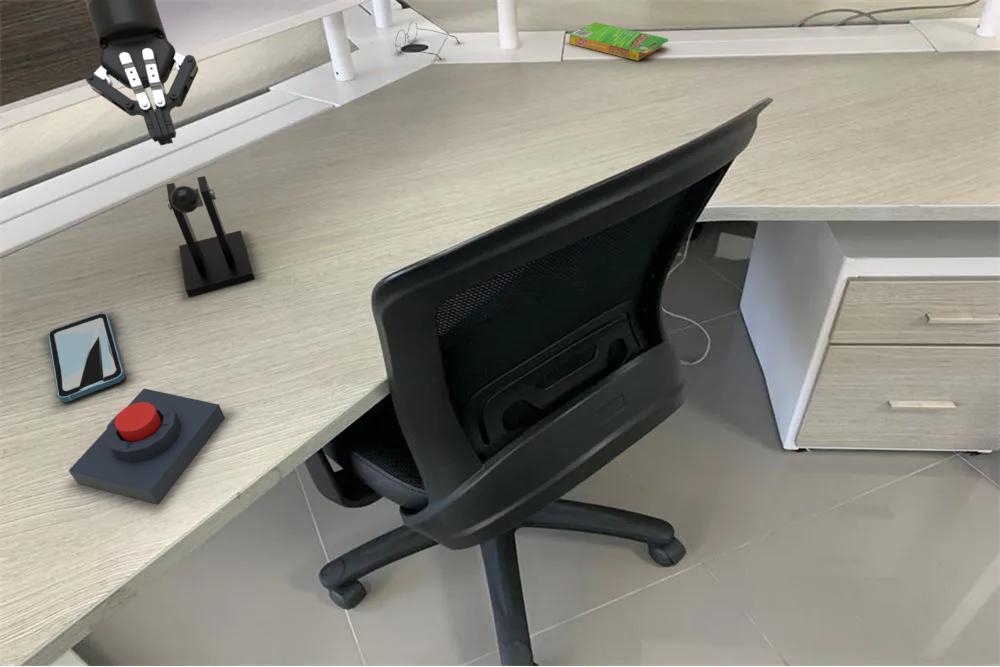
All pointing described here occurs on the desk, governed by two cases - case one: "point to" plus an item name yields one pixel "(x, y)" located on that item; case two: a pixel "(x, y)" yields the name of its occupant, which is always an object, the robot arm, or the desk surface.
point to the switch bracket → (211, 250)
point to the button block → (149, 449)
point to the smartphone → (85, 357)
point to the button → (138, 422)
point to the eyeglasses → (415, 38)
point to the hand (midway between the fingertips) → (165, 141)
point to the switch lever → (186, 199)
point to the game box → (616, 40)
